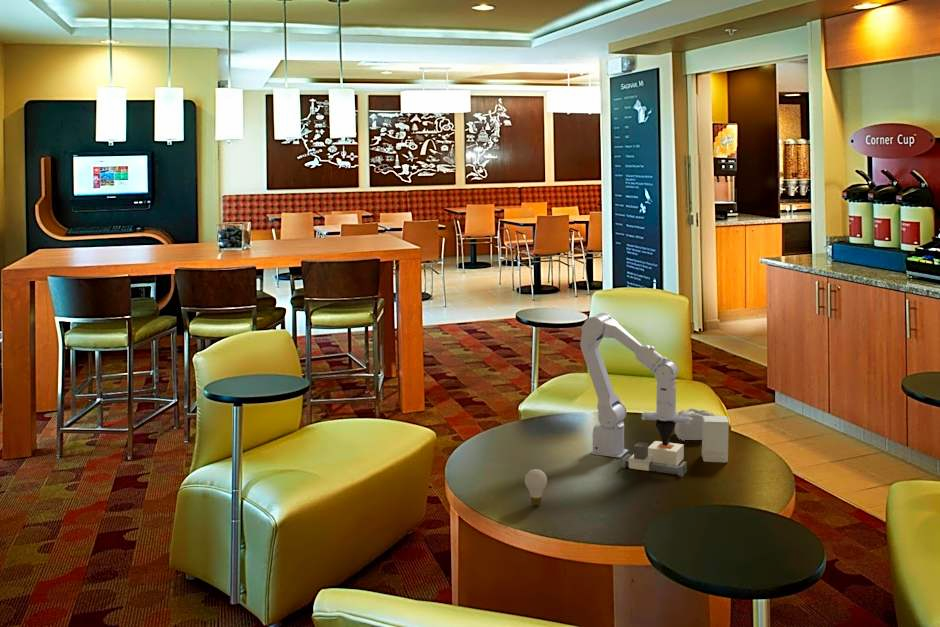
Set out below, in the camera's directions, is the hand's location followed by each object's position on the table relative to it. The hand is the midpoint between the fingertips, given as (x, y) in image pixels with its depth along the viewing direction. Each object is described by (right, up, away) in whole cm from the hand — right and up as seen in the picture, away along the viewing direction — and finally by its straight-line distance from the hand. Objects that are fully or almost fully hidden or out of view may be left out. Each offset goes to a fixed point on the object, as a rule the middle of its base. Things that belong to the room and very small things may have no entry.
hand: (665, 444), depth 266 cm
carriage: (-9, -6, -6) cm, 12 cm away
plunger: (0, -5, +1) cm, 5 cm away
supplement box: (+15, -5, +1) cm, 16 cm away
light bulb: (-42, -11, -34) cm, 55 cm away
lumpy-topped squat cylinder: (+16, -1, +25) cm, 30 cm away
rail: (-5, -6, -8) cm, 11 cm away
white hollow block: (0, -5, +1) cm, 5 cm away
